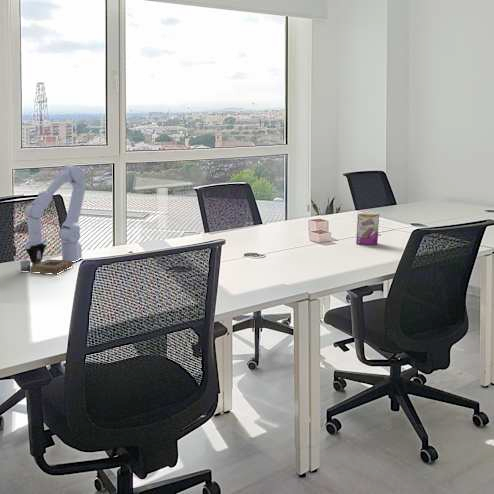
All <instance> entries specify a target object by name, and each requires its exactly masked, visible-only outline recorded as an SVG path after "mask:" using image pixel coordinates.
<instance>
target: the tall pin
mask: <svg viewBox="0 0 494 494" xmlns="http://www.w3.org/2000/svg"><path fill="white" fill-rule="evenodd" d="M40 262H42V260H41V250H39V249H38V252H37V262H36V263H32V262H31V264H32V266H33V265H36V264H38V263H40Z"/></svg>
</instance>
